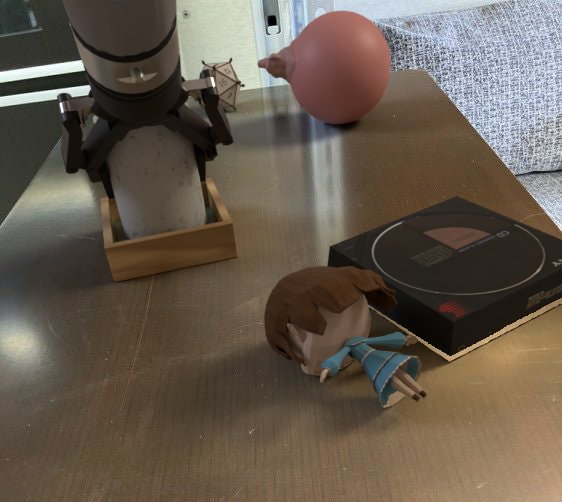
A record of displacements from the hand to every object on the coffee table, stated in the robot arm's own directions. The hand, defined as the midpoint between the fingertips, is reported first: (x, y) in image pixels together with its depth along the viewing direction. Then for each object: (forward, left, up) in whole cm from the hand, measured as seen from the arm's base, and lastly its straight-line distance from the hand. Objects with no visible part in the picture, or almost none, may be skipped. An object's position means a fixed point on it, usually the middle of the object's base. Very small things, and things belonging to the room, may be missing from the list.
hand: (155, 179), depth 70 cm
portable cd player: (+24, +25, -7) cm, 35 cm away
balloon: (-28, +29, -7) cm, 41 cm away
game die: (-44, +15, -7) cm, 47 cm away
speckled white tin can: (+3, 0, -4) cm, 5 cm away
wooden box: (+3, 0, -6) cm, 7 cm away
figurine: (+32, +11, -7) cm, 35 cm away
